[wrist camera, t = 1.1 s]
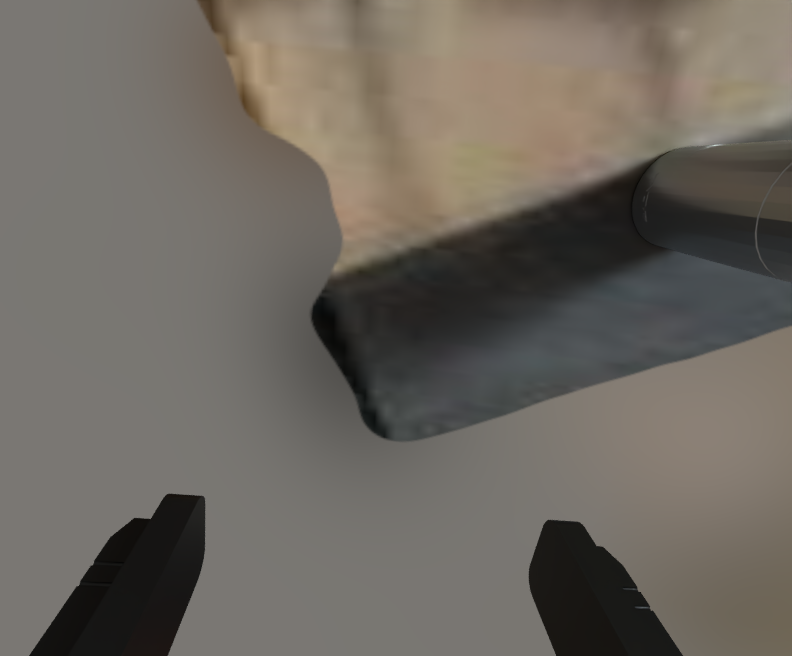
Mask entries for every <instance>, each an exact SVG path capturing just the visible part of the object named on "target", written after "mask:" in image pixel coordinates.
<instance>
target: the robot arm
mask: <svg viewBox="0 0 792 656" xmlns="http://www.w3.org/2000/svg"><path fill="white" fill-rule="evenodd" d="M632 216H633V220H634V224H635V227H636V228H637V230H638V232H639V234H640V235H641V236H642V237H643V238H644V239H645V240H646V241H648V242H650V243H652V244H653V245H657V246H660V247H664V248H667V249H671V250H674V251H678V252H681V253H684V254H688V255H691V256H695V257H699V258H702V259H706V260H710V261H713V262H717V263H721V264H724V265H728V266H732V267H735V268H739V269H743V270H746V271H750V272H754V273H757V274H761V275H764V276H768V277H772V278H775V279H779V280H783V281H787V282H791V283H792V140H786V141H770V142H755V143H739V144H721V145H706V146H691V147H684V148H678V149H676V150H673V151H670V152H668V153H667V154H665V155H663V156H662V157H660V158H659V159H657V160H656V161H655V162H654V163H653V164H652V165H651V166H650V167H649V168H648V169H647V171H646V172H645V173H644V174H643V176H642V178H641V179H640V181H639V183H638V185H637V187H636V190H635V193H634V196H633V203H632ZM204 552H205V498H204V496H195V495H179V494H167V495H166V496H165V497H164V498H163V500H162V501H161V503H160V505H159V507H158V508H157V510H156V511H155V513H154V515H153V516H152V518H151V519H142V518H134V519H133V520H131V521H130V522H129V523H128V524H126V525H125V526H124V527H123V528H121V529H120V530H119V531H118V532H116V533H115V534H114V535H113V536H111V537H110V539H109V540H108V542H107V543H106V544H105V546H104V547H103V549H102V550H101V552H100V553H99V555H98V556H97V558H96V559H95V561H94V564H93V566H91V567H90V568H89V569H88V571H87V572H86V574H85V575H84V577H83V578H82V580H81V581H80V585H79V586H77V587H76V588H75V590H74V591H73V593H72V594H71V596H70V597H69V598H68V600H67V601H66V603H65V604H64V606H63V608H62V609H61V610H60V612H59V613H58V614H57V616H56V617H55V619H54V620H53V622H52V623H51V625H50V626H49V628H48V629H47V630H46V632H45V634H44V635H43V636H42V638H41V639H40V641H39V642H38V644H37V645H36V647H35V648H34V649H33V651H32V652H31V654H30V655H29V656H168V653H169V651H170V648H171V646H172V643H173V641H174V638H175V636H176V633H177V631H178V628H179V626H180V623H181V621H182V618H183V616H184V613H185V611H186V608H187V606H188V603H189V601H190V598H191V596H192V593H193V591H194V588H195V586H196V583H197V581H198V578H199V575H200V571H201V568H202V564H203V559H204ZM529 585H530V590H531V593H532V597H533V599H534V602H535V604H536V607H537V609H538V612H539V614H540V617H541V619H542V622H543V624H544V626H545V629H546V631H547V634H548V636H549V639H550V641H551V644H552V646H553V649H554V651H555V654H556V656H683V655H682V654H681V652H680V651H679V649H678V648H677V646H676V645H675V643H674V642H673V640H672V639H671V637H670V636H669V634H668V633H667V631H666V630H665V628H664V627H663V625H662V624H661V622H660V621H659V619H658V618H657V616H656V615H655V613H654V612H653V611H651V610H650V606H649V604H648V603H647V601H646V600H645V598H644V597H643V595H642V594H641V592H638V590H637V586H636V584H635V583H634V582H633V580H632V579H631V577H630V575H629V574H628V573H627V571H626V569H625V568H624V567H623V565H622V564H621V563H620V562H619V561H617V560H616V559H615V558H614V557H613V556H612V555H611V554H610V553H609V552H608V551H607V550H606V549H605V548H603V547H600V546H596V545H595V543H594V541H593V540H592V538H591V537H590V535H589V533H588V532H587V530H586V529H585V527H584V526H583V525H582V524H581V523H580V522H573V521H558V520H547V521H546V522H545V524H544V525H543V528H542V531H541V534H540V537H539V540H538V543H537V546H536V549H535V552H534V555H533V558H532V561H531V564H530V568H529Z"/></svg>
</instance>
